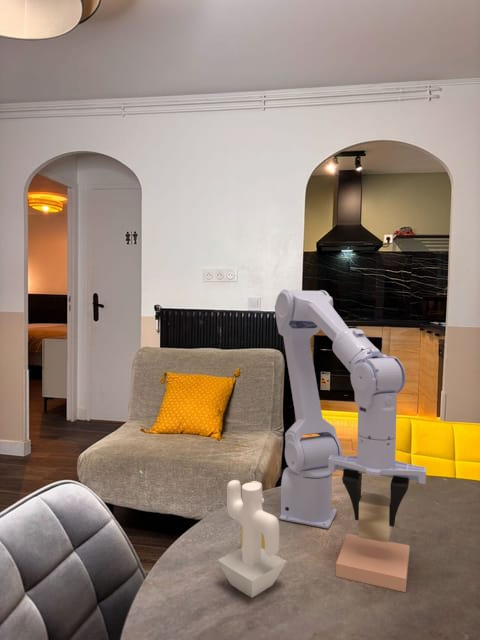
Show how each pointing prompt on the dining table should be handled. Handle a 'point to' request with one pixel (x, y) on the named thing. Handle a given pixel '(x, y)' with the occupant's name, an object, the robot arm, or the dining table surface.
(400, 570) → the riser
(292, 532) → the dining table surface
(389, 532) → the beech block
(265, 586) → the figurine
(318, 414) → the robot arm
